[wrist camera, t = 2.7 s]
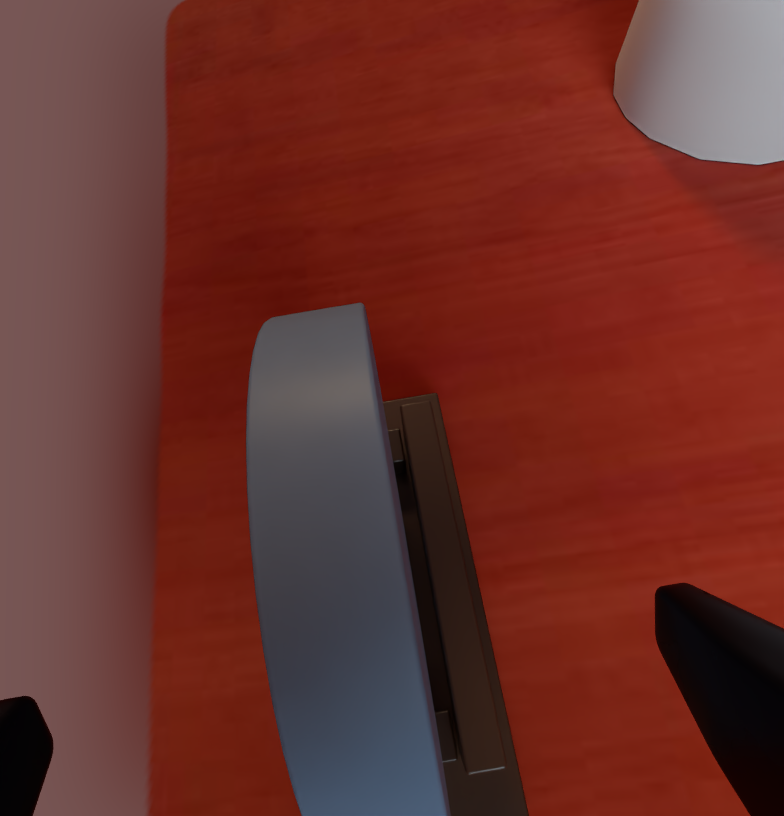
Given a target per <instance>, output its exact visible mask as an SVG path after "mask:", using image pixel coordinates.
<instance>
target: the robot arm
mask: <svg viewBox="0 0 784 816" xmlns="http://www.w3.org/2000/svg"><path fill="white" fill-rule="evenodd" d="M655 635H656V640H657V644H658V647H659V650H660V652H661V654H662V656H663V658H664V660H665V662H666V664H667V666H668V668H669V670H670V672H671V674H672V676H673V678H674V680H675V681H676V683H677V685H678V687H679V689H680V691H681V693H682V695H683V697H684V699H685V701H686V703H687V705H688V707H689V709H690V711H691V713H692V715H693V717H694V719H695V721H696V723H697V725H698V727H699V729H700V731H701V733H702V735H703V737H704V739H705V741H706V743H707V744H708V746H709V748H710V750H711V752H712V754H713V756H714V757H715V759H716V761H717V762H718V764H719V766H720V767H721V769H722V771H723V772H724V774H725V776H726V777H727V779H728V781H729V782H730V784H731V785H732V787H733V788H734V790H735V792H736V793H737V795H738V796H739V798H740V799H741V801H742V803H743V804H744V806H745V807H746V809H747V811H748V812H749V814H750V815H751V816H784V629H783V628H781V627H779V626H777V625H775V624H772V623H770V622H768V621H766V620H764V619H762V618H760V617H758V616H756V615H754V614H751V613H749V612H747V611H745V610H743V609H741V608H739V607H737V606H735V605H733V604H730V603H728V602H726V601H724V600H722V599H720V598H718V597H716V596H714V595H712V594H709V593H707V592H705V591H703V590H701V589H699V588H697V587H695V586H693V585H690V584H688V583H678V584H672V585H666V586H661V587H659V588H658V589H657V590H656V593H655ZM52 754H53V738H52V735H51V733H50V731H49V729H48V727H47V724H46V722H45V720H44V718H43V716H42V714H41V712H40V710H39V707H38V705H37V703H36V702H35V700H34V699H33V698H31V697H29V696H22V697H15V698H10V699H4V700H0V816H33V813H34V810H35V807H36V804H37V801H38V798H39V795H40V792H41V789H42V786H43V783H44V780H45V777H46V774H47V770H48V768H49V764H50V761H51V758H52Z"/></svg>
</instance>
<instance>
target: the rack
mask: <svg viewBox="0 0 784 816" xmlns="http://www.w3.org/2000/svg"><path fill="white" fill-rule="evenodd" d="M383 406H384V412H385V418H386V424H387V429H388V435H389V441H390V447H391V452H392V458H393V464H394V470H395V476H396V482H397V487H398V493H399V499H400V505H401V511H402V517H403V523H404V529H405V535H406V541H407V547H408V553H409V559H410V565H411V570H412V576H413V582H414V589H415V595H416V601H417V607H418V613H419V619H420V625H421V631H422V637H423V643H424V649H425V655H426V661H427V668H428V674H429V680H430V686H431V692H432V698H433V705H434V711H435V717H436V723H437V730H438V736H439V742H440V749H441V755H442V762H443V768H444V774H445V781H446V787H447V794H448V801H449V807H450V814H451V816H529V814H528V810H527V805H526V801H525V796H524V791H523V787H522V782H521V777H520V773H519V768H518V764H517V759H516V754H515V750H514V745H513V741H512V736H511V731H510V727H509V722H508V717H507V713H506V708H505V704H504V699H503V694H502V690H501V685H500V681H499V676H498V671H497V667H496V662H495V658H494V653H493V648H492V644H491V639H490V634H489V630H488V625H487V621H486V616H485V611H484V607H483V602H482V598H481V593H480V588H479V584H478V579H477V574H476V570H475V565H474V561H473V556H472V551H471V547H470V542H469V538H468V533H467V528H466V524H465V519H464V514H463V510H462V505H461V501H460V496H459V491H458V487H457V482H456V478H455V473H454V468H453V464H452V459H451V455H450V450H449V445H448V441H447V436H446V431H445V427H444V422H443V418H442V413H441V408H440V404H439V399H438V395H437V393H432V394H426V395H420V396H414V397H409V398H403V399H397V400H391V401H385V402H383Z"/></svg>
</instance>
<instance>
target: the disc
mask: <svg viewBox="0 0 784 816" xmlns="http://www.w3.org/2000/svg"><path fill="white" fill-rule="evenodd" d="M246 462H247V495H248V511H249V526H250V541H251V551H252V561H253V571H254V581H255V591H256V600H257V607H258V614H259V622H260V629H261V637H262V644H263V651H264V657H265V663H266V668H267V674H268V680H269V686H270V692H271V697H272V703H273V708H274V713H275V717H276V722H277V726H278V731H279V736H280V740H281V745H282V750H283V754H284V757H285V761H286V765H287V769H288V772H289V776H290V780H291V783H292V787H293V791H294V794H295V797H296V800H297V803H298V806H299V809H300V812H301V815H302V816H451V814H450V807H449V801H448V794H447V787H446V781H445V774H444V768H443V762H442V755H441V749H440V742H439V736H438V730H437V723H436V717H435V711H434V705H433V698H432V692H431V686H430V680H429V674H428V668H427V661H426V655H425V649H424V643H423V637H422V631H421V625H420V619H419V613H418V607H417V601H416V595H415V589H414V582H413V576H412V570H411V565H410V559H409V553H408V547H407V541H406V535H405V529H404V523H403V517H402V511H401V505H400V499H399V493H398V487H397V482H396V476H395V470H394V464H393V458H392V452H391V447H390V441H389V435H388V429H387V424H386V418H385V412H384V406H383V401H382V395H381V389H380V384H379V378H378V373H377V367H376V361H375V356H374V350H373V345H372V340H371V334H370V329H369V324H368V319H367V314H366V310H365V306H364V305H363V303H355V304H349V305H343V306H337V307H331V308H325V309H319V310H313V311H307V312H302V313H296V314H290V315H284V316H278V317H272V318H271V319H269V320H268V321H266V322H265V323H264V324H263V325H262V327H261V329H260V331H259V333H258V336H257V339H256V343H255V346H254V350H253V356H252V362H251V368H250V375H249V386H248V399H247V424H246Z"/></svg>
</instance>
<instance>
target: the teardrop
mask: <svg viewBox="0 0 784 816" xmlns="http://www.w3.org/2000/svg"><path fill="white" fill-rule="evenodd" d="M613 96H614V97H615V99H616V101H617V103H618V105H619V106H620V108H621V110H622V112H623V114H624V116H625V117H626V118H627V119H628V120H629V121H630V122H631V123H632V124H634V125H635V126H636V127H637V128H638V129H639V130H641V131H642V132H643V133H644V134H645V135H646V136H647V137H649V138H650V139H653V140H655V141H657V142H660V143H662V144H664V145H667V146H669V147H672V148H674V149H676V150H679V151H681V152H683V153H686V154H688V155H691V156H693V157H695V158H698V159H701V160H712V161H723V162H734V163H745V164H755V165H760V164H766V163H771V162H777V161H782V160H784V0H639V2H638V5H637V7H636V10H635V13H634V15H633V18H632V21H631V24H630V26H629V29H628V32H627V35H626V37H625V40H624V43H623V45H622V48H621V51H620V54H619V56H618V59H617V62H616V68H615V79H614V91H613Z"/></svg>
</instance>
